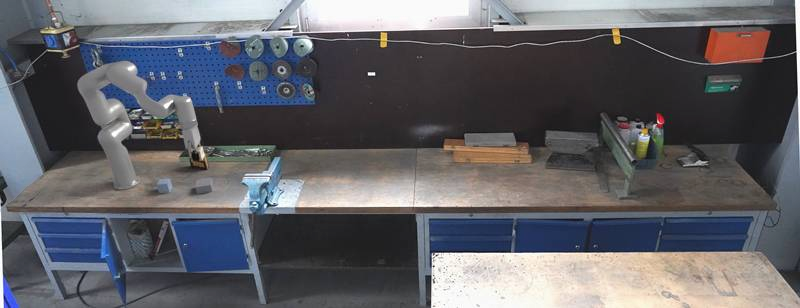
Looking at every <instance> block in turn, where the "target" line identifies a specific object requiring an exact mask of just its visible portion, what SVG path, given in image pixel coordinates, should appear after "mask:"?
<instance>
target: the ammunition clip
mask: <svg viewBox="0 0 800 308" xmlns="http://www.w3.org/2000/svg"><path fill="white" fill-rule="evenodd" d="M187 152H188V156H189V162H190V167H191V168H194V169H199V170H206V171H208V170H209V169H210V166H209V165H210V164H209V161H208V159H207V157H206V155H205V156H204V158H203V160H202V161H193V162H192V161H191V158H190V154H189V148H188V149H187Z"/></svg>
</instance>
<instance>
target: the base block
mask: <svg viewBox="0 0 800 308" xmlns="http://www.w3.org/2000/svg"><path fill="white" fill-rule="evenodd" d="M213 190H214V182H213V178H212V177H208V178H207V177H206V178H201V179H196V182H195V191H196V194H197V195H200V194H205V193H206V194H207V193H212V192H213ZM199 193H200V194H199Z"/></svg>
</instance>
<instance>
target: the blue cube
mask: <svg viewBox="0 0 800 308" xmlns="http://www.w3.org/2000/svg"><path fill="white" fill-rule="evenodd" d="M156 188H157V191H158V193H159V194H165V193H166V194H167V193H171V190H172V189H173V184H172V181H171V178H161V179H159V180H158V181H157V183H156Z"/></svg>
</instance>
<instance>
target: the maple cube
mask: <svg viewBox="0 0 800 308" xmlns="http://www.w3.org/2000/svg"><path fill="white" fill-rule="evenodd" d="M196 148H197V153H198V154H199V158H200V160H199V161H202V160H203V158H204V156H206V154H205V151H204V148H203V146H201V147H196ZM193 150H195V149H193ZM189 154H190V152H189V153H188V155H189ZM190 158H191V161H192V162H193V160H192V156H191V154H190V157H189V159H190Z"/></svg>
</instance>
